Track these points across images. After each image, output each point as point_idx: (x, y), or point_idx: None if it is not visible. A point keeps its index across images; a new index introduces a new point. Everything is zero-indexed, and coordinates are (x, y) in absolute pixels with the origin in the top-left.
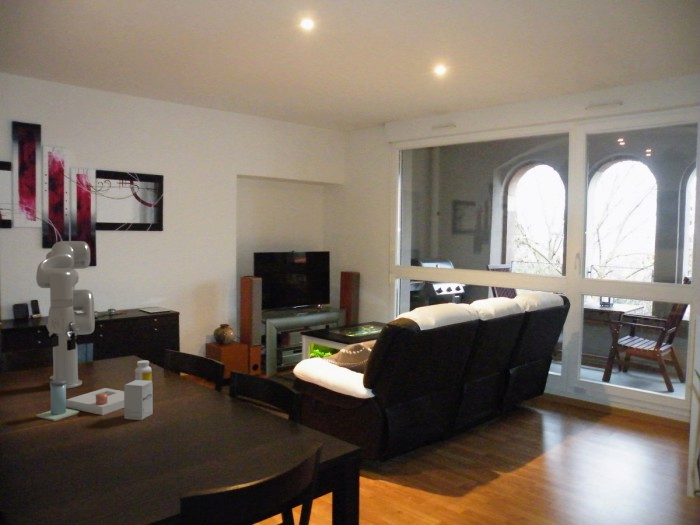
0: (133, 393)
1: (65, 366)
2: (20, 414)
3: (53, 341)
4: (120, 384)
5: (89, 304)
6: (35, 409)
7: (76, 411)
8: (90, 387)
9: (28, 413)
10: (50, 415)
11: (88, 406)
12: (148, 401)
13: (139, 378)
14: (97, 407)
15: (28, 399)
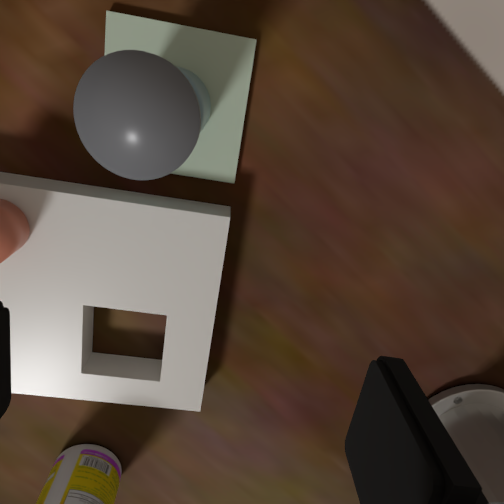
0: None
1: (490, 492)
2: (365, 44)
3: (389, 442)
4: (254, 500)
5: None
6: (350, 135)
7: None
8: (343, 442)
9: (337, 71)
10: (180, 57)
11: (58, 188)
12: None
13: (55, 500)
14: None
15: (493, 244)
